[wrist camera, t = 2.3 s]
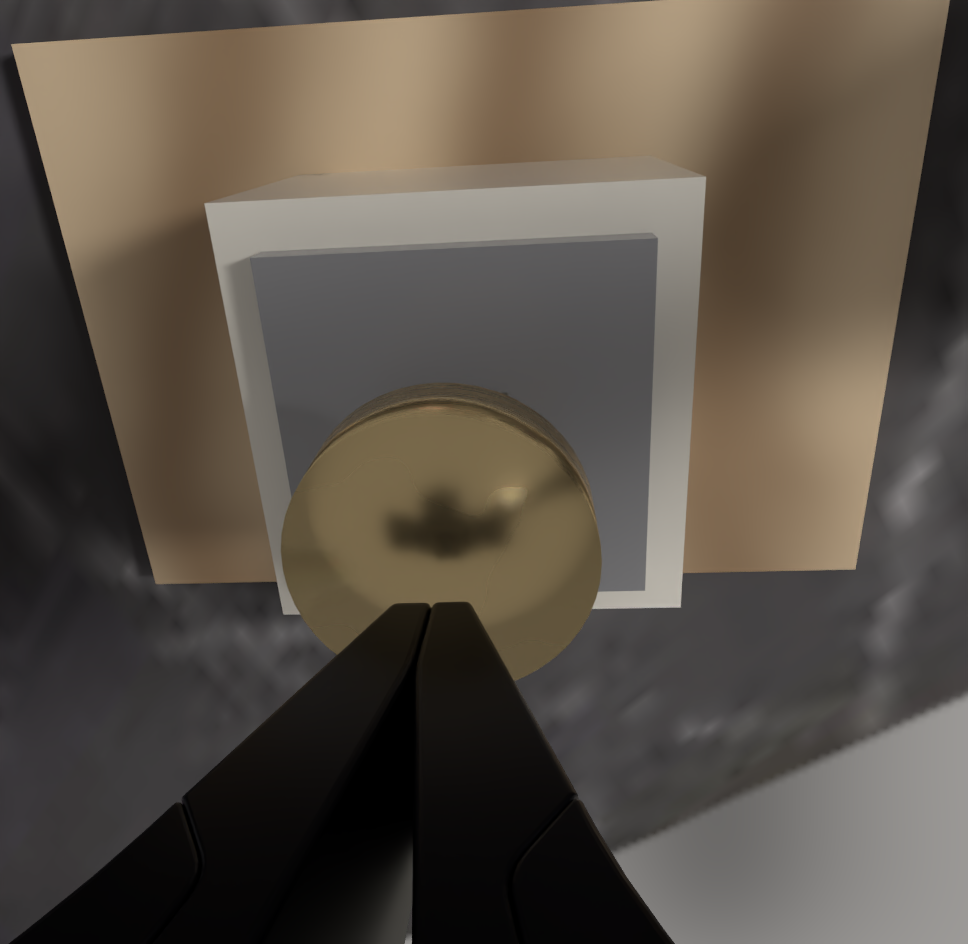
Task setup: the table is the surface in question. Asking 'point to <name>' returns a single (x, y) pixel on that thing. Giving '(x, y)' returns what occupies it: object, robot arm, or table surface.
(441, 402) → the gold push button
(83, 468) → the table surface
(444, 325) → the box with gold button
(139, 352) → the serving board
